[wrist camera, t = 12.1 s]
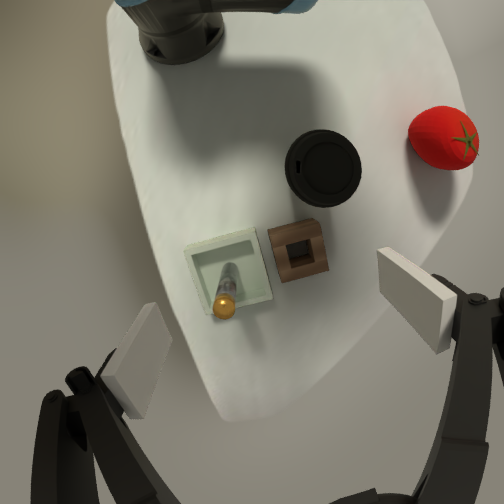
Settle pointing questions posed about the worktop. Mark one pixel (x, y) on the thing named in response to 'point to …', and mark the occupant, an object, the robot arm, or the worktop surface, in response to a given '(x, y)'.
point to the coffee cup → (323, 168)
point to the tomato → (444, 138)
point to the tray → (221, 252)
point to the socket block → (305, 263)
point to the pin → (226, 292)
